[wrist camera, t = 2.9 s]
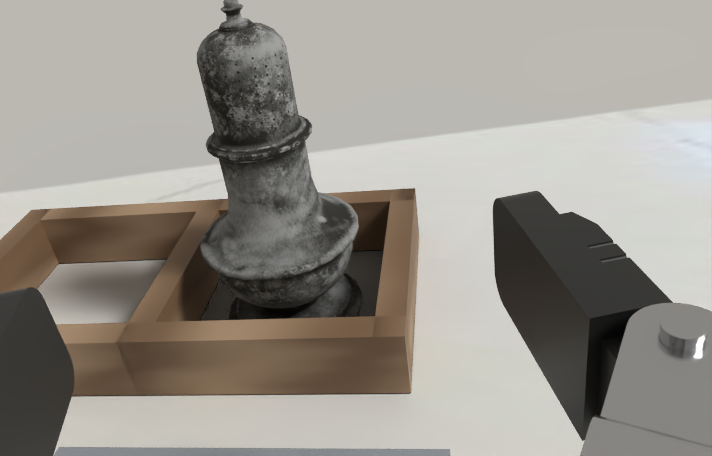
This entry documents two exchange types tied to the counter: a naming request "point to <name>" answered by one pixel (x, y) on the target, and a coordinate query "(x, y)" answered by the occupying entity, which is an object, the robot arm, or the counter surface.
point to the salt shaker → (270, 185)
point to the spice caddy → (193, 291)
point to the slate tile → (244, 452)
